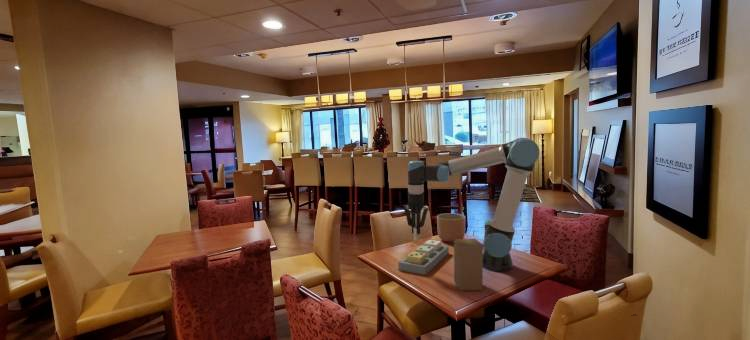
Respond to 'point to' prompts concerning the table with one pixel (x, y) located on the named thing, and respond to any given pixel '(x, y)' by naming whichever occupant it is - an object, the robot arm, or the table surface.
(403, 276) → the table surface
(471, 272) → the wooden block
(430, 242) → the tile one
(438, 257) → the tile board
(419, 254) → the tile three
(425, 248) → the tile two
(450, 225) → the planter
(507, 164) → the robot arm
